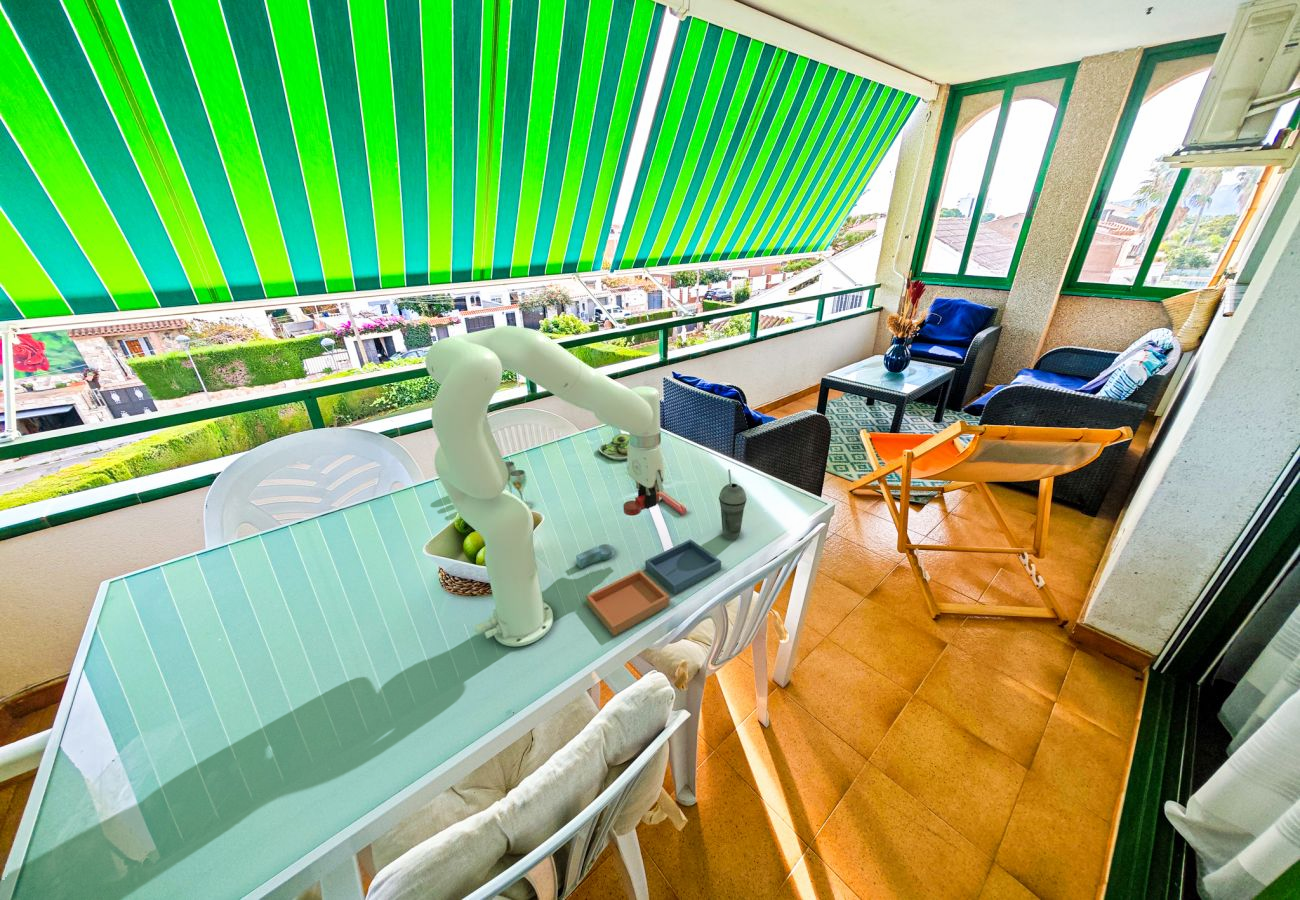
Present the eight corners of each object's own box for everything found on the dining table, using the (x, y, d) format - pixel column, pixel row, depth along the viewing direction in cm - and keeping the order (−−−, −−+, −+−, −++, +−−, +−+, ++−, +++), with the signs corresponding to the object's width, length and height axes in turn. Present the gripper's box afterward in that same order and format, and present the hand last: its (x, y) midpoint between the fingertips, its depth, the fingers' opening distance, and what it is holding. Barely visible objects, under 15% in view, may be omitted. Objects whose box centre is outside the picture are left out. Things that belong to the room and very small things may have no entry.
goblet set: (535, 505, 144) (529, 467, 138) (520, 513, 140) (513, 474, 135) (487, 480, 161) (480, 445, 156) (472, 486, 157) (464, 451, 152)
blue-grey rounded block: (583, 570, 114) (581, 561, 113) (575, 562, 117) (573, 553, 116) (616, 555, 119) (616, 546, 118) (608, 547, 122) (607, 538, 121)
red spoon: (651, 498, 121) (651, 488, 120) (661, 504, 118) (661, 495, 117) (620, 510, 116) (619, 500, 115) (630, 517, 113) (629, 507, 111)
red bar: (678, 519, 135) (690, 510, 137) (676, 514, 134) (688, 505, 135) (636, 487, 154) (647, 479, 155) (634, 482, 153) (646, 475, 154)
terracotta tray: (613, 636, 95) (612, 627, 94) (587, 604, 103) (586, 595, 102) (669, 605, 102) (669, 596, 101) (640, 577, 111) (639, 569, 110)
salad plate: (658, 454, 176) (658, 443, 174) (619, 467, 166) (618, 455, 164) (630, 439, 190) (630, 428, 188) (593, 450, 181) (592, 439, 179)
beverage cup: (744, 543, 122) (748, 477, 113) (716, 541, 123) (718, 475, 115) (744, 528, 128) (748, 464, 120) (718, 526, 130) (720, 462, 121)
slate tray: (674, 594, 105) (674, 586, 104) (645, 568, 114) (645, 560, 113) (720, 569, 113) (721, 560, 112) (690, 546, 121) (690, 539, 120)
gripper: (614, 432, 114) (618, 497, 122) (652, 452, 102) (654, 522, 110) (638, 425, 118) (641, 488, 126) (678, 444, 106) (678, 512, 114)
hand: (647, 503), depth 118 cm, fingers closed on red spoon, 2 cm apart
